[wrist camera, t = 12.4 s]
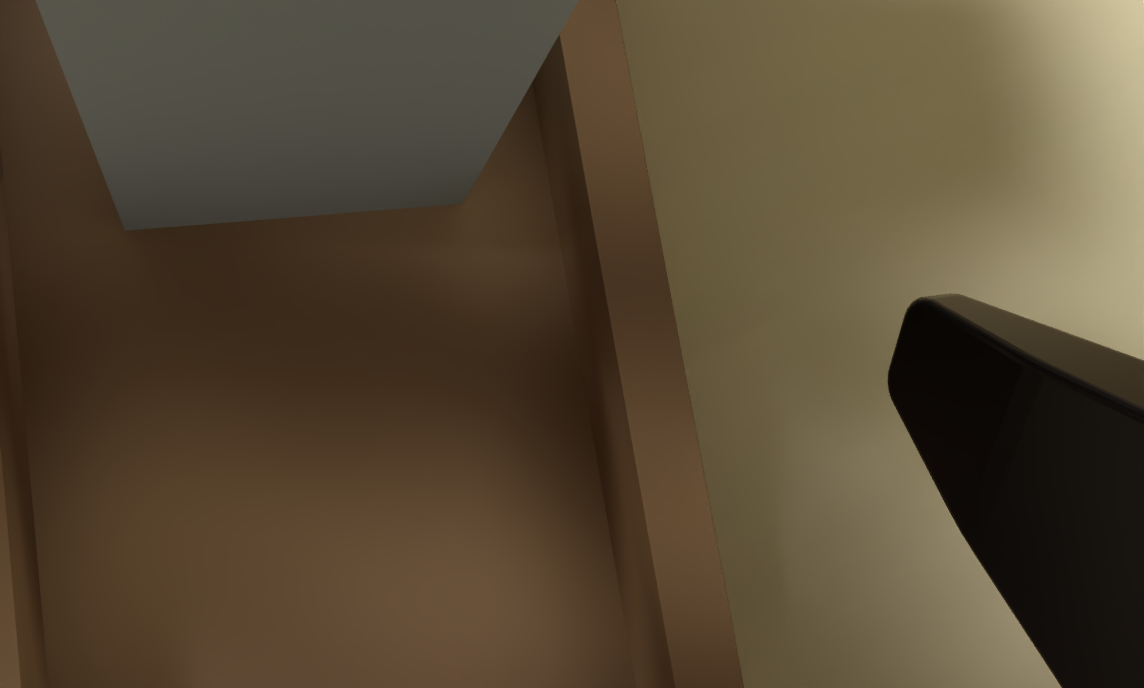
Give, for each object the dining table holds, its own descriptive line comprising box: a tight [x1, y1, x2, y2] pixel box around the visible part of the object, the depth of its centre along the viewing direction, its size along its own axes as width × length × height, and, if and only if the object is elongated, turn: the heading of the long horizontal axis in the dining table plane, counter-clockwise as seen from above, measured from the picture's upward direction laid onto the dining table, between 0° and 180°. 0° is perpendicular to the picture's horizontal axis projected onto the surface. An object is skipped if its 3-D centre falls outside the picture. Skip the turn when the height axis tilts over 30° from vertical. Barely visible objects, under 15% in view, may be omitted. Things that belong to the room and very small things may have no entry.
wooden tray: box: [0, 0, 744, 688], centre depth 15 cm, size 24×10×2 cm, turn 10°
